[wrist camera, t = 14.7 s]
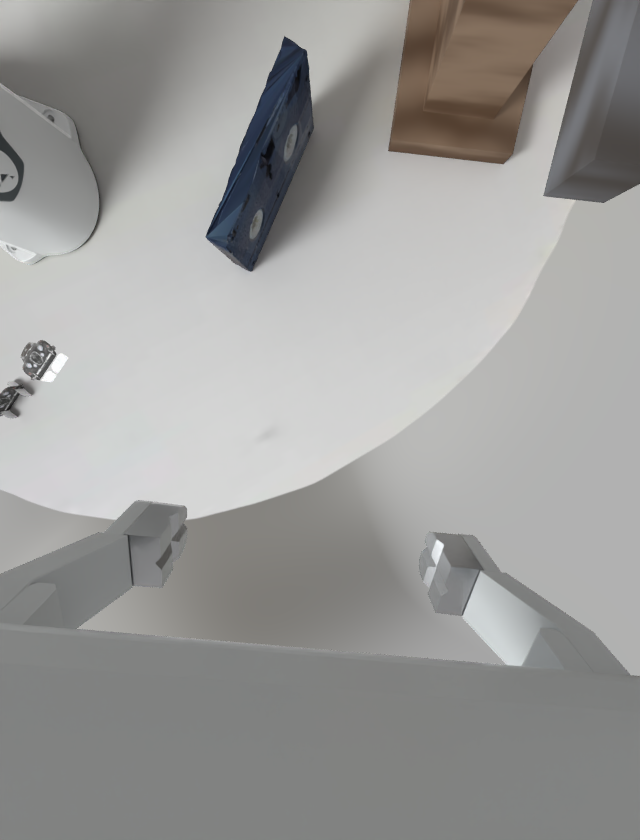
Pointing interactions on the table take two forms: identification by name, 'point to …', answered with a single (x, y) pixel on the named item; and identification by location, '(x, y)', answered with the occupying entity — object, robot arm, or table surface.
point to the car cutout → (32, 372)
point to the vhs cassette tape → (266, 159)
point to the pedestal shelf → (469, 75)
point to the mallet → (602, 110)
